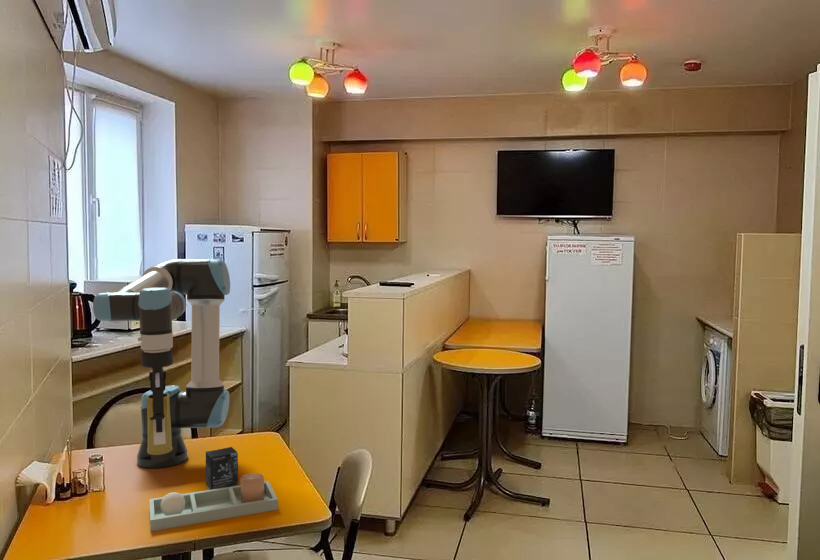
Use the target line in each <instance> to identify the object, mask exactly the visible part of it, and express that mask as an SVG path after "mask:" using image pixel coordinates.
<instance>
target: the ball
mask: <svg viewBox="0 0 820 560" xmlns="http://www.w3.org/2000/svg"><path fill="white" fill-rule="evenodd" d="M181 494H182V493H180V492H177V491H176V492H175V491H173V492H169V493H167V494H166V495H164V496H163V497H164V498H163V499H162V501H161V505H160V507H161V511H162V512H163V514H164V515H166V516H168V515H174V514H180V513H182V511H183V510H184V508H185V499H184V497H183V496H182V495H181Z"/></svg>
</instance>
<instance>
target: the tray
mask: <svg viewBox="0 0 820 560" xmlns="http://www.w3.org/2000/svg"><path fill="white" fill-rule="evenodd" d="M180 494H181V495H182V496H183V497H184V499H185V508H184V510H183V511H182V513H180V514H174V515H168V516H166V515H164V514H163V512H162V511H161V507H160V505H161V501H162V499H163V498H164V496H161V497H154V498H149V522H150V523H149V525H150V532H154V531H161V530H167V529H173V528H178V527H184V526H190V525H195V524H201V523H207V522H213V521H218V520H225V519H230V518H237V517H243V516H247V515H248V516H249V515H254V514H260V513H266V512H272V511H273V512H274V511H278V510H279V499H278V497H277V495H276V493H275V491H274V489H273V486H272V485H271V483H270V481H269V480H264V500H259V501H253V502H247V503H241V484H238V485H235V486H231V487H225V488H218V489H212V490H210V489H206V490H200V491H199V490H198V491H194V492H193V491H192V492H185V493H180Z"/></svg>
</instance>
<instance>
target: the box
mask: <svg viewBox="0 0 820 560" xmlns="http://www.w3.org/2000/svg"><path fill="white" fill-rule="evenodd" d="M238 454H239V452H238V451H237V450H236V449H235V448H234V447H232V446H229V447H225V448H218V449H215V450H214V449H213V450H207V451H205V485H206V486H207V487H208V490H212V489H218V488H225V487H231V486H238V485H239V457H238V456H239V455H238Z"/></svg>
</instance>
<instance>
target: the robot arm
mask: <svg viewBox="0 0 820 560" xmlns="http://www.w3.org/2000/svg"><path fill="white" fill-rule="evenodd" d="M229 273H230V272H229V269H228V266H227V264H226V262H225V261H224V260H222V259H218V258H211V257H210V258H176V259H174V258H173V259H169V260H166V261H162V262H160V263H157V264H155V265H153V266H151V267H149V268H147V269H146V270H145V271H143V273H142V275H141V276H140V277H138V278H137V279H135V280H134V281H131V282H130V283H129V284H127V285H125V286H124V287H122V288H120V289H118V290H117V291H114V292H109V291H107V292H100V293H99V292H98V293H97V294H96V295H95V296H94V298H93V301H92V312H93V315H94V317H95V319H96V320H98V321H100V322H109V323H110V322H111V323H112V322H139V334H140V336H139V337H137V341H138V342H140V349H141V350H142V351H141V352H140V364H141V366H142V367H143V368H145V369H146V368H148V369H149V368H151V370H152V371H149V373H148V380H149V383H150V390H148V391H146V392H144V393H143V394H142V396H141V399H140V401H141V403H140V405H141V406H140V413H141V414H140V415H141V434H142V436H141V441H140V444H139V448H138V453H137V454H136V463H137V465H138V466H140V467H142V468H145V469H146V468H147V469H161V468H167V467H172V466H176V465H179V464H182V463H183V462H184V461H186V460H187V459H188V447H187V445H186V443H185V440H184V438H183V435H182V429H194V428H195V429H198V428H202V429H203V428H206V429H210V428H219V427H221V426H222V425H223V424H224V423H225V421H226V419H227V416H228V412H229V406H230V398H231V397H230V392H229V390H227V389H225V384H224V382H222V380H220V321H221V320H220V313H221V312H220V311H221V310H220V308H221V307H220V306H221V304H223V302H224V301H225V299H226V298H225V296H227V295H230V294H231V293H230V291H231V279H230V274H229ZM184 295H186V298H185V296H184ZM187 302H188V303H189V304H190V305H191V353H190V354H191V357H190V358H191V361H190V363H191V365H190V366H191V368H190V369H191V370H190V371H191V374H190V375H191V377H190V378H191V379H190V381H189V382H188V383H187V384H186V385H185V390H181V388H180V386H179V385H174V384H173V385H166V380H167V370H164V367H169V366H172V365H173V364H174V350H173V349H172V348H173V346H174V342H173V340H174V336H173V334H174V333H173V320H176V319H178V318H179V317H181V316H182V315H183V314H184V312H186V309H187ZM163 393H166V394H169V400H170V419H171V434H172V448H173V449H172V451H170V452H168V453H165V454H160V455H152V454H148V453H147V447H148V433H147V418H148V415H147V396H149V395H151V394H153V417H151V418H150V420H153V433H154V445H160V444H166V440H165V415H164V397H163Z"/></svg>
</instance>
